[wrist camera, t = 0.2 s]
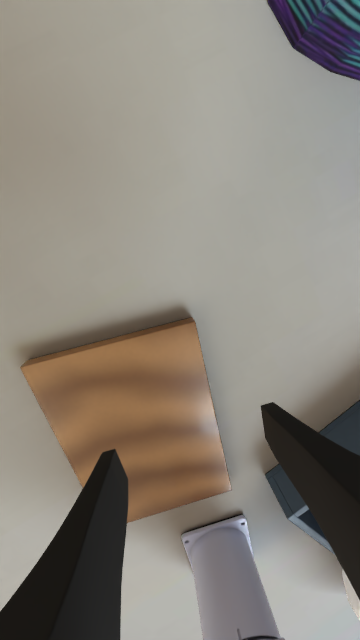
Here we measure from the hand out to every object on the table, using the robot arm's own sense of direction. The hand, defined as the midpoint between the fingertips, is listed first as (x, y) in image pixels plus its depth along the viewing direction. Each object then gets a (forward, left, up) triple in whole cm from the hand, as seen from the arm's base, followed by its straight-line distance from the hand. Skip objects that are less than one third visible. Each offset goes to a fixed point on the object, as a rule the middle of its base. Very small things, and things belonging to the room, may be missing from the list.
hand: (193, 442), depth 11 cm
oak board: (-7, +5, -10) cm, 13 cm away
